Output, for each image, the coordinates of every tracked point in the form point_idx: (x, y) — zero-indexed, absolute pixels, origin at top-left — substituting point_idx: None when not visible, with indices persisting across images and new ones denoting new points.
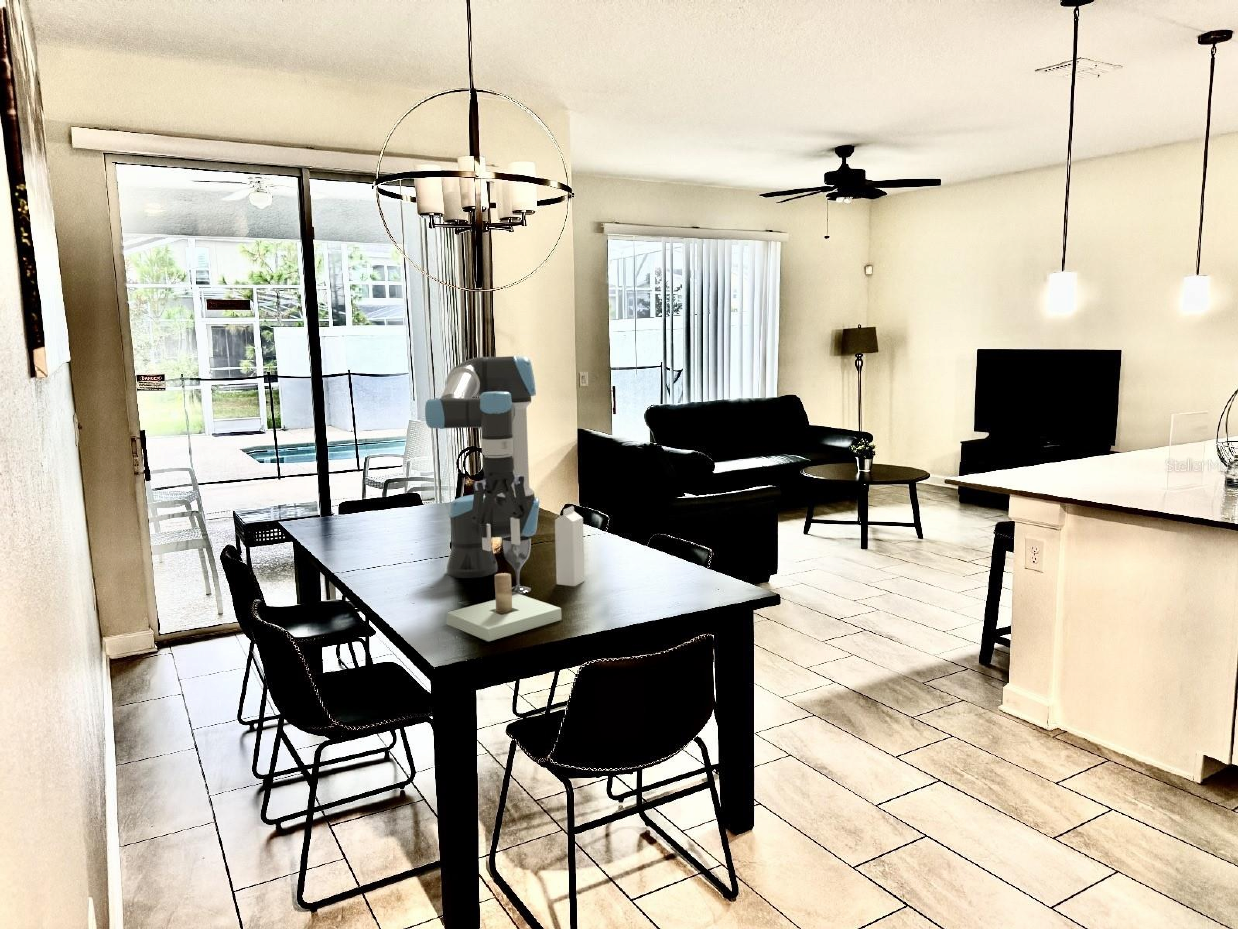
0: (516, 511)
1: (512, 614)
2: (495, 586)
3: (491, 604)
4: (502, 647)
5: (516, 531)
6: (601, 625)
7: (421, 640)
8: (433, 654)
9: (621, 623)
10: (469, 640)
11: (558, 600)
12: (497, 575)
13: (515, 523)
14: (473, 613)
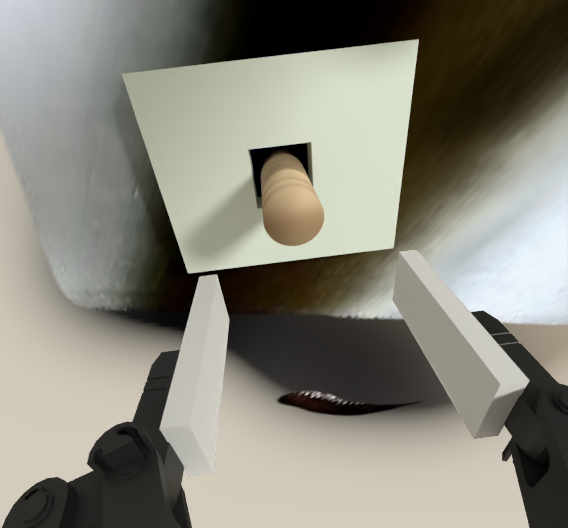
0: (527, 517)
1: None
2: (262, 201)
3: (282, 97)
4: None
5: (427, 350)
6: None
7: (42, 160)
8: (65, 257)
9: None
10: (158, 229)
11: (502, 92)
12: (277, 209)
13: (457, 393)
14: (198, 146)
